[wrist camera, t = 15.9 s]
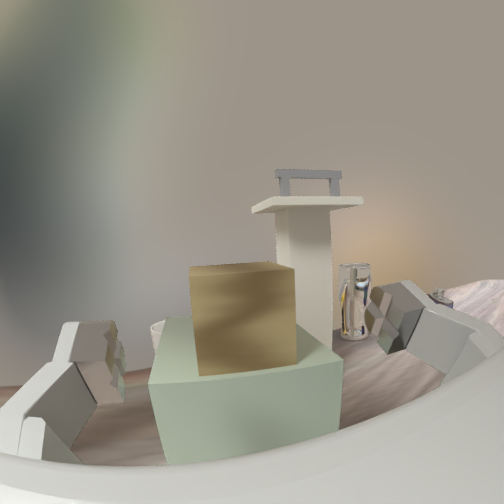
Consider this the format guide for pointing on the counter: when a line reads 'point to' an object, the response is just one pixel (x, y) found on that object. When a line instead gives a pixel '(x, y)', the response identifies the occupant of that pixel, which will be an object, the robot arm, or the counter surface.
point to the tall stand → (308, 245)
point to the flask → (440, 298)
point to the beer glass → (354, 299)
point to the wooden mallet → (243, 317)
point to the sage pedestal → (240, 399)
